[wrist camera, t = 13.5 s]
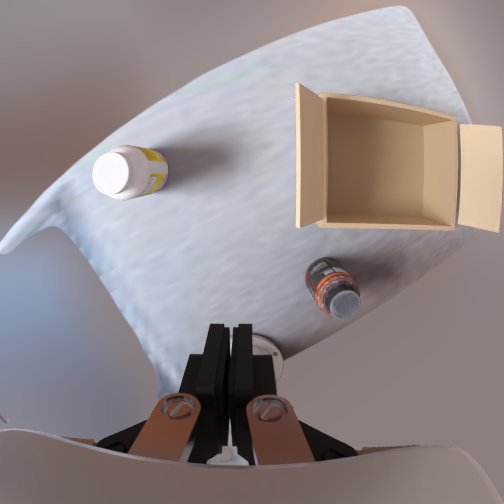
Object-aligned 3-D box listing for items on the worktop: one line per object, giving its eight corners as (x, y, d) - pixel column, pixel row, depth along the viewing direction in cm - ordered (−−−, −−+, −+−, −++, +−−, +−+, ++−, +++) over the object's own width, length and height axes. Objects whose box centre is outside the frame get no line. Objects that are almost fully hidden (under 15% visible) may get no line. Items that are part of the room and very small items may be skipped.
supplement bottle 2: (324, 300, 46) (345, 336, 35) (296, 279, 45) (310, 312, 34) (349, 271, 45) (376, 300, 34) (321, 248, 44) (344, 273, 33)
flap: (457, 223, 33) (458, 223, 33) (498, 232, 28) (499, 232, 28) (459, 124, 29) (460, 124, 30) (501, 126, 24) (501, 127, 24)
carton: (422, 219, 43) (454, 230, 34) (306, 216, 42) (321, 227, 34) (424, 123, 38) (456, 117, 30) (306, 107, 38) (321, 91, 30)
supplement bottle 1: (126, 153, 40) (83, 147, 27) (168, 146, 40) (136, 137, 27) (129, 196, 41) (87, 206, 29) (171, 192, 41) (139, 200, 29)
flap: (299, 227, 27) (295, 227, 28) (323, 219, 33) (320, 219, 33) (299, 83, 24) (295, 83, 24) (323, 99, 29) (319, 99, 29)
